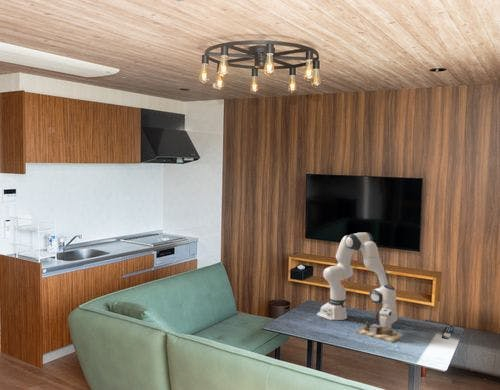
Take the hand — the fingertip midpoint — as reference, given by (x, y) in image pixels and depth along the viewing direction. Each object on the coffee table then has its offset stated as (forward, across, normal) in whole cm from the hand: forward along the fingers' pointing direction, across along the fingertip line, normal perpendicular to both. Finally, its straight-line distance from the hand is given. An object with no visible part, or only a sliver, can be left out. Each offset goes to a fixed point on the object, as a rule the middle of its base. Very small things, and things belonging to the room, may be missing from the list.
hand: (388, 330), depth 318 cm
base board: (+3, +4, -5) cm, 7 cm away
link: (+1, +3, -6) cm, 7 cm away
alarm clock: (+3, -14, -9) cm, 18 cm away
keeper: (+2, +4, -8) cm, 9 cm away
